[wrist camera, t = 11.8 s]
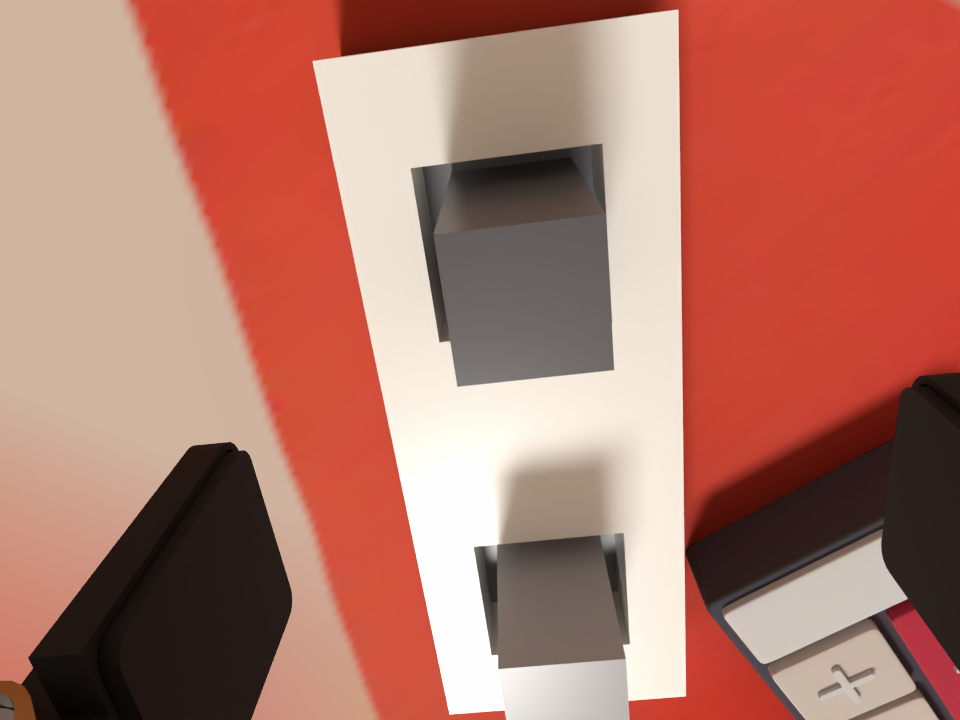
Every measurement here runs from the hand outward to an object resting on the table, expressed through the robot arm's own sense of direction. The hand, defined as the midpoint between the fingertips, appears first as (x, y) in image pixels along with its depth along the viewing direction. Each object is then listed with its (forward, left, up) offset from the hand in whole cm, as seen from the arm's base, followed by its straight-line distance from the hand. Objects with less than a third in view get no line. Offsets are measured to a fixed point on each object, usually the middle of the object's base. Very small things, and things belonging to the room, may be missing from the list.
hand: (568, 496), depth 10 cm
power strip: (0, +7, -17) cm, 18 cm away
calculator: (-14, +20, -17) cm, 30 cm away
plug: (0, 0, -16) cm, 16 cm away
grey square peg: (0, +14, -16) cm, 21 cm away
